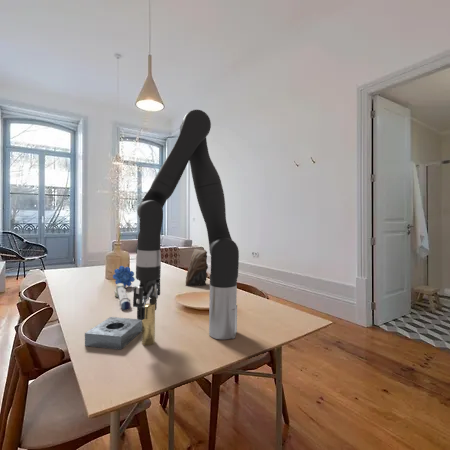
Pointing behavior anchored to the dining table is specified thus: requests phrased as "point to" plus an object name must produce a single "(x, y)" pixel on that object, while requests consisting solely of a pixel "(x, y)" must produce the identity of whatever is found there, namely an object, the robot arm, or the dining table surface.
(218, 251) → the robot arm
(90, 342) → the plate
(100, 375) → the dining table surface
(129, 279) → the blue flower
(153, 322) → the brass plug
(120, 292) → the white electric toothbrush
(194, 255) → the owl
